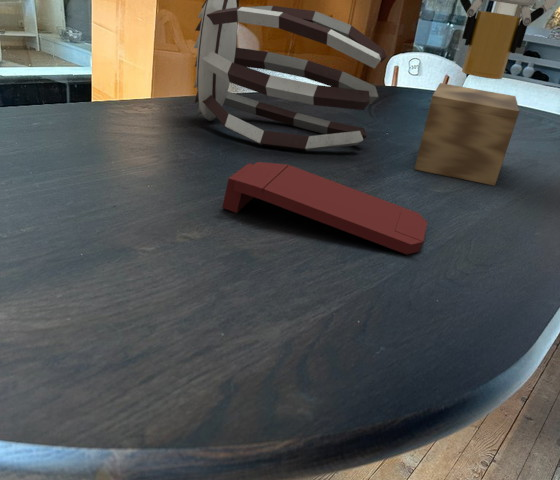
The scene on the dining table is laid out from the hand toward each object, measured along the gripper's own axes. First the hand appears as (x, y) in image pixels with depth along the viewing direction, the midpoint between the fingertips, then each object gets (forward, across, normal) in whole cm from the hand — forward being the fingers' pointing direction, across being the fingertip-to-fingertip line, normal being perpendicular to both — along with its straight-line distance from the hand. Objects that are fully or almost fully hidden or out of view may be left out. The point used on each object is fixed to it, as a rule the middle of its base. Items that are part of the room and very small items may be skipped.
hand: (489, 47), depth 98 cm
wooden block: (+19, 0, 0) cm, 19 cm away
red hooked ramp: (+20, -15, -44) cm, 51 cm away
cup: (+4, 0, 0) cm, 4 cm away
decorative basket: (+20, -34, -4) cm, 39 cm away
